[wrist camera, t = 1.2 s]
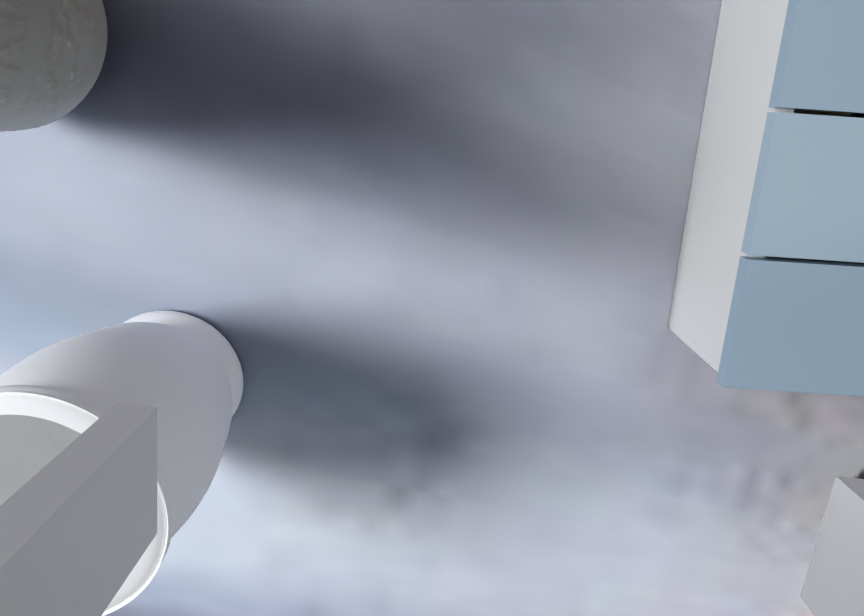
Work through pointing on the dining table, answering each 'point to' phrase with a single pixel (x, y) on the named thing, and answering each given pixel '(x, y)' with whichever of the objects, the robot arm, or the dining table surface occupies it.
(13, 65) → the grey rounded cylinder
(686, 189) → the dining table surface
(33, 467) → the jar
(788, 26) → the lid
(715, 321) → the cabinet body
